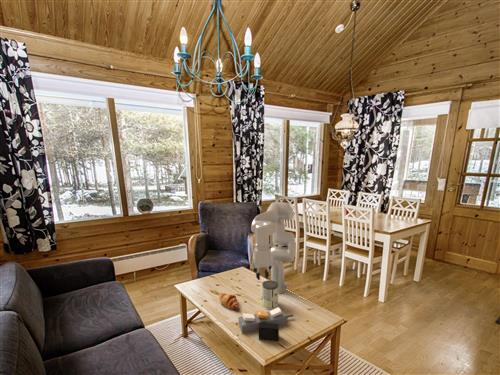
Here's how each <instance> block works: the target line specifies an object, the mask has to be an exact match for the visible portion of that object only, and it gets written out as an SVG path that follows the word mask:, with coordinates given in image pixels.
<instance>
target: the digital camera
mask: <svg viewBox="0 0 500 375" xmlns="http://www.w3.org/2000/svg"><path fill="white" fill-rule="evenodd" d="M279 328H280V326H279V324H275V323H267V322H265V321H263V322H259V330H258V340H259V341H268V342H279V341H280V340H279V339H280V338H279V336H280V329H279Z"/></svg>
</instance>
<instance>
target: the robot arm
mask: <svg viewBox="0 0 500 375" xmlns="http://www.w3.org/2000/svg"><path fill="white" fill-rule="evenodd" d="M294 215H295V214H294V210H293V207H292V205H291V204H290V203H289V202H281V201H280V202H279V201H274V202H272V203H270V205H269V206H268V208H267V210H266V211H264V212H262V213H259V214H257V215H256V216H255V217H254V219H253V220H252V222H251V226H250V229H251V232H252V233H254V234H255V248H253V253H252V263H251V265H250V266H249V268H250V269H251V270H253V271H254V272H255V273H256V274H255V278H256V279H257V280H258V281H260V280H261V273H260V269H261V268H262V269H263V268H265V269H264V277H265V279H266V280H268V279H269V273H270V280H272V281H275V282H277V283H278V294H283V293H286V291H287V287H291V283H290V282H289V283H288V282H285V265H284V262H289V263H290V262H294V260H295V251H296V250H295V248H296V247H295V246H296V236H295V234H294V233H293V232H291V231H289V232H288V231H286V225H285V222H284V221H283V220H285V221H292V219H294ZM270 236H272V243H273V244H274V245H276V246H272V243H270ZM277 245H279V246H277ZM284 246H287V247H284Z"/></svg>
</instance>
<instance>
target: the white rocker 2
mask: <svg viewBox="0 0 500 375" xmlns="http://www.w3.org/2000/svg"><path fill="white" fill-rule="evenodd" d="M281 311H282V309H281V308H280V307H279V306H278V307H277V308H275V309H270V310H269V311H268V312H270V315H271V316H272V318H273V317H275V316H277V315H280V314H282V312H283V311H282V312H281Z"/></svg>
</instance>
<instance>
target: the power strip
mask: <svg viewBox="0 0 500 375" xmlns="http://www.w3.org/2000/svg"><path fill="white" fill-rule="evenodd" d="M266 312H267V314H268V315H269V317H268V319H267V318H258V316H257V314H256V313H255V314H253V315H254V317H255V321H246V320H244V318H243V316H238V326H239V329H240V332H241V333H242V334H245V333H250V332H255V331H259V322H263V321H265V322H267V323H275V324H279V327H280V326H285V325H286V326H287V319H288V318H293V317H294V314H293V313H291V314H288V315H287V314H286V315H285V314H284V312H283V311H282V310H281V312H282V314H280V315H277V316H275V317H273V318H272V316H271V315H270V312H269V311H266Z"/></svg>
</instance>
